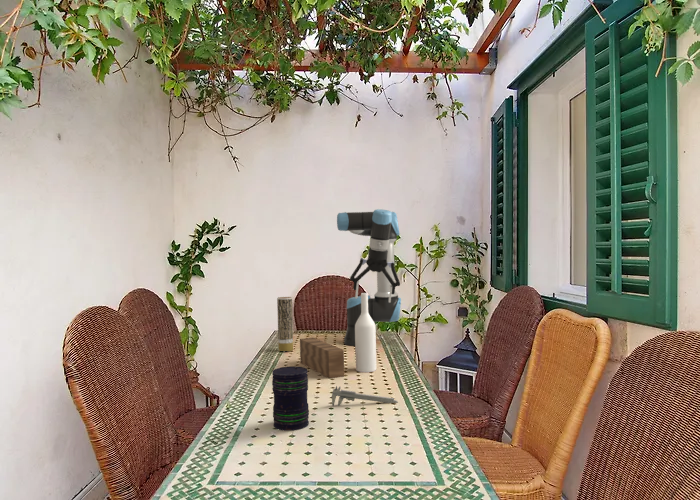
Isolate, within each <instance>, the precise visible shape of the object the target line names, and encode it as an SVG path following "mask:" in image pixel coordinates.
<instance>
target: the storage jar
mask: <svg viewBox="0 0 700 500" xmlns="http://www.w3.org/2000/svg"><path fill="white" fill-rule="evenodd" d="M271 374H272V375H271V376H272V381H271V384H272V389H271V390H272V393H273V406H272V411H273V412H272V417H273V428H274V427H275V428H274V429H277V430H278V429H279V431H283V430H284V432H286V431H287V432H290V431H291V432H293V431H299V430H303V429H305V428H308V426H309V425H310V424H309V422H310V421H309V417H310V416H309V415H310V409H309V408H310V407H309V403H308V391H309V378H308V376H309V375H308V369H307V368H306V367H303V366H295V365H293V366H292V365H290V366H282V367H278V368H275V369H273V370H272V373H271Z"/></svg>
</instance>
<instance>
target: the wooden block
mask: <svg viewBox="0 0 700 500" xmlns="http://www.w3.org/2000/svg"><path fill="white" fill-rule="evenodd" d="M299 348H300V349H299V355H300V356H299V361H300V364H303V365H304V366H306V367H308V368H310V369H311V370H313V371H315V372H317V373H318V374H320V375H322V376H324V377H326V378H327V379H329V380H330V379H336V378H341V377H342V378H343V377H345V359H344V358H345V355H344V354H345V353H344V352H345V350H344V349H343V348H340V347H338V346H335V345H334V344H333V345H332V344H330V343H327V342H325V341H323V340H321V339H317V338H315V337H308V338H307V337H306V338H299Z"/></svg>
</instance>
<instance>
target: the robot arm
mask: <svg viewBox="0 0 700 500" xmlns="http://www.w3.org/2000/svg"><path fill="white" fill-rule="evenodd" d="M397 214H398V213H396V212H395V211H391V210H387V209H383V208H382V209H379V208H378V209H374V210H373V211H359V212H358V211H356V212H346V211H344V212H338V213H337V215H336V226H337V227H336V228H337V230H338V231H340V232H341V231H342V232H343V231H344V232H350V233H352V234H354V235H358V236H363V237H364V236H365V237H370V238H369V245H368V246H369V248H368V257H367V259H365V258H363V257H361V258H360V260H359V263H358V265H357V266H356V267H355V269H354V271H353V273H352V274H351V275H350V277H349V281H351V282H353V287H352V288H353V290H354V291H355V296H353V297H350V298H349V297H348V299H347V301H346V314H347V315H346V316H347V317H346V321H347V322H346V323H347V326H346V327H347V328H346V331H345V335H344V339H343V343H344V345H346V346H352V347H355V324H356V322H357V320H358V318H359V317H360V315H361V295H359V284H360V280H361V279H362V278H363V277H364V276H365V275H366V274H367V273H369V272H370V271H371V272H373V273H374V272H375V273H376V289H377V291H376V292H375V294H374V298H373V297H371V295H370V294H368V313H369V315H370V317H371V318H372V320H373V321H374V323H375V322H376V323H377V322H378V323H379V322H381V323H383V322H385V323H386V322H387V323H391V322H398V321H399V319H400V314H401V305H402V298H401V297H399V293H397V292H396V290H395V289H396V287H400V286H401V282H400V279H399V276H398V274H397V270H396V269H395V242H396V241H397V240H398V238H397V237H398V236H400V234H401V233H400V229H399V223H398V222H399V221H398V215H397ZM365 264H366V265H367V267H366V268H365V269H364V270H362V271H361V272H360V273H359V274H358V272H359V271H360V269H361V267H362V266H363V265H365ZM357 274H358V275H357Z"/></svg>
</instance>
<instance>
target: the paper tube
mask: <svg viewBox="0 0 700 500" xmlns="http://www.w3.org/2000/svg"><path fill="white" fill-rule="evenodd" d="M292 297H293V296H280V297H279V296H278V297H277V299H276V300H277V303H276V304H277V309H276V310H277V333H278V334H277V338H278V339H277V340H278V341H277V343H278V352H280V351H290V352H292V351H293V350H294V332H293V331H294V329H293V328H294V327H293V326H294V325H293V323H294V322H293V298H292Z"/></svg>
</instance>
